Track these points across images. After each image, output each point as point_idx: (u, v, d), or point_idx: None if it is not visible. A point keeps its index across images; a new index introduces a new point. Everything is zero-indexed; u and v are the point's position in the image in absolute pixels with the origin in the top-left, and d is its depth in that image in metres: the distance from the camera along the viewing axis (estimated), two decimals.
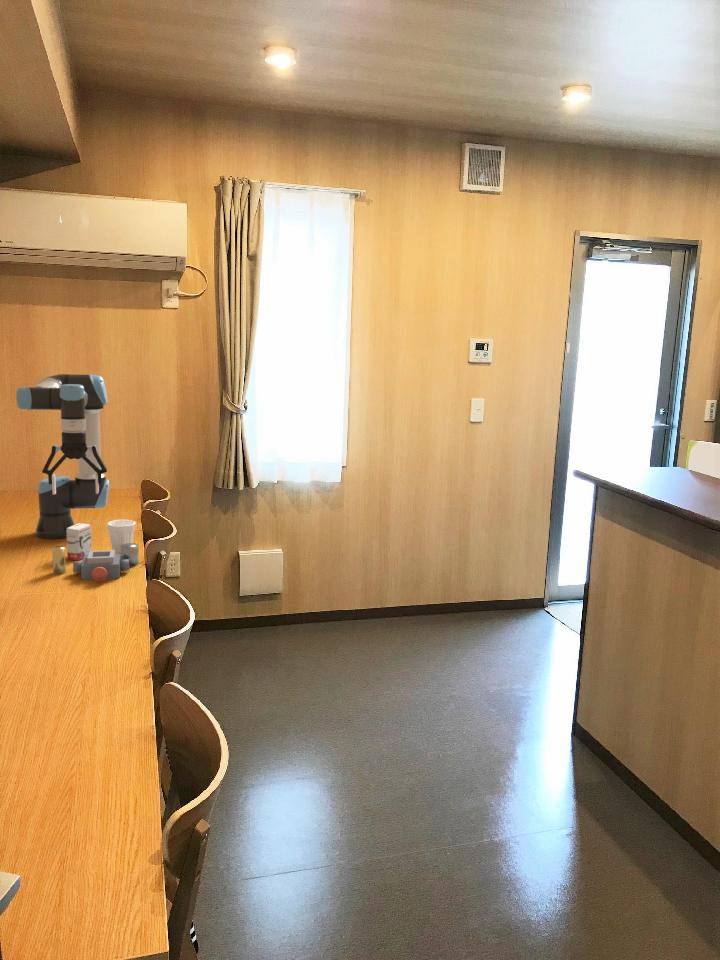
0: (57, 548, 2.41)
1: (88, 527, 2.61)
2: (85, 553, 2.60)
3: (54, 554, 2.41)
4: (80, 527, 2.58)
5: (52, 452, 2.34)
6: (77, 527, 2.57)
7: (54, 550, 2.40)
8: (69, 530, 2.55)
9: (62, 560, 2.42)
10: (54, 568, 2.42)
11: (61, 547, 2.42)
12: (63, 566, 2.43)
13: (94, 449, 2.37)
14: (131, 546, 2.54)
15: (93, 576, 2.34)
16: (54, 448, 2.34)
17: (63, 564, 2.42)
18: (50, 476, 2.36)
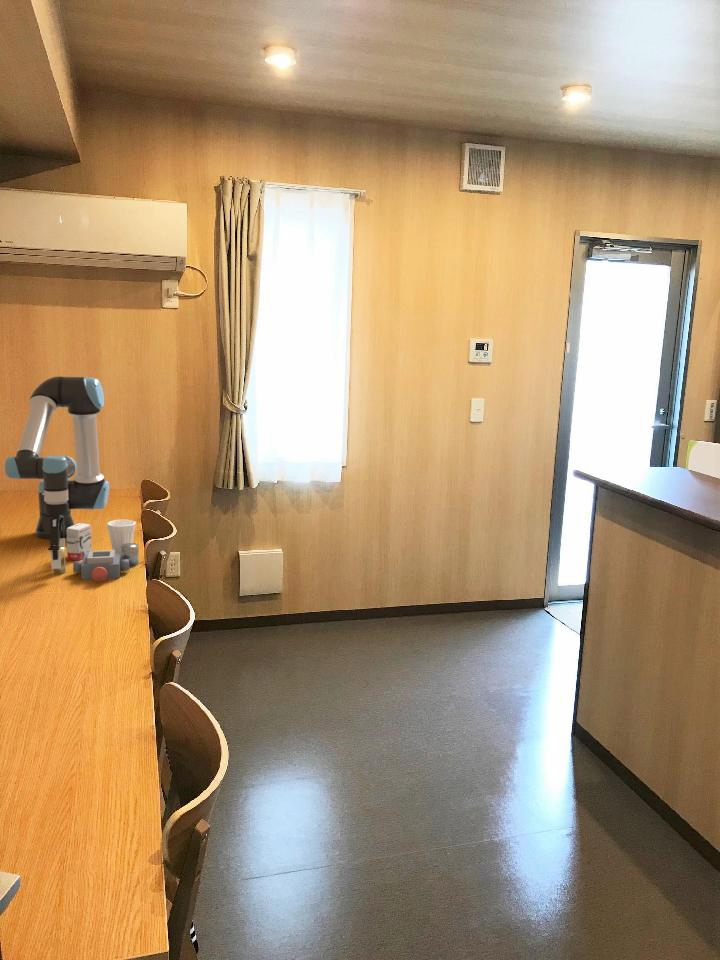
0: None
1: (88, 527, 2.61)
2: (85, 553, 2.60)
3: None
4: (80, 527, 2.58)
5: None
6: (77, 527, 2.57)
7: None
8: (69, 530, 2.55)
9: (62, 560, 2.42)
10: None
11: (61, 547, 2.42)
12: (63, 566, 2.43)
13: None
14: (131, 546, 2.54)
15: (93, 576, 2.34)
16: None
17: (63, 564, 2.42)
18: None
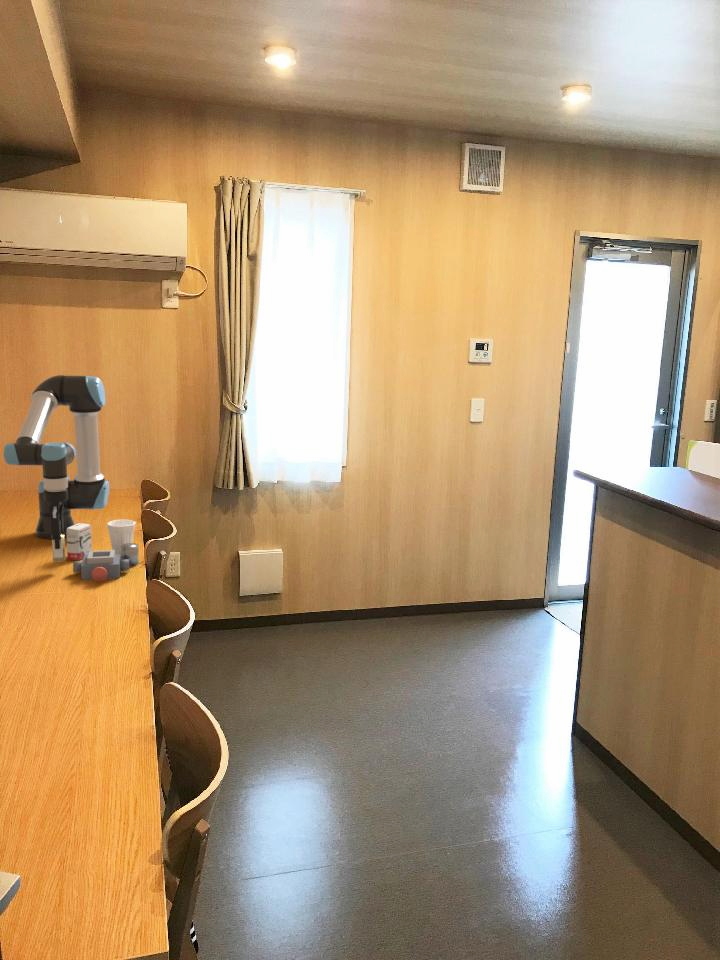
0: None
1: (88, 527, 2.61)
2: (85, 553, 2.60)
3: None
4: (80, 527, 2.58)
5: None
6: (77, 527, 2.57)
7: None
8: (69, 530, 2.55)
9: (62, 548, 2.41)
10: None
11: (61, 535, 2.42)
12: (63, 554, 2.42)
13: None
14: (131, 546, 2.54)
15: (93, 576, 2.34)
16: None
17: (63, 552, 2.42)
18: None
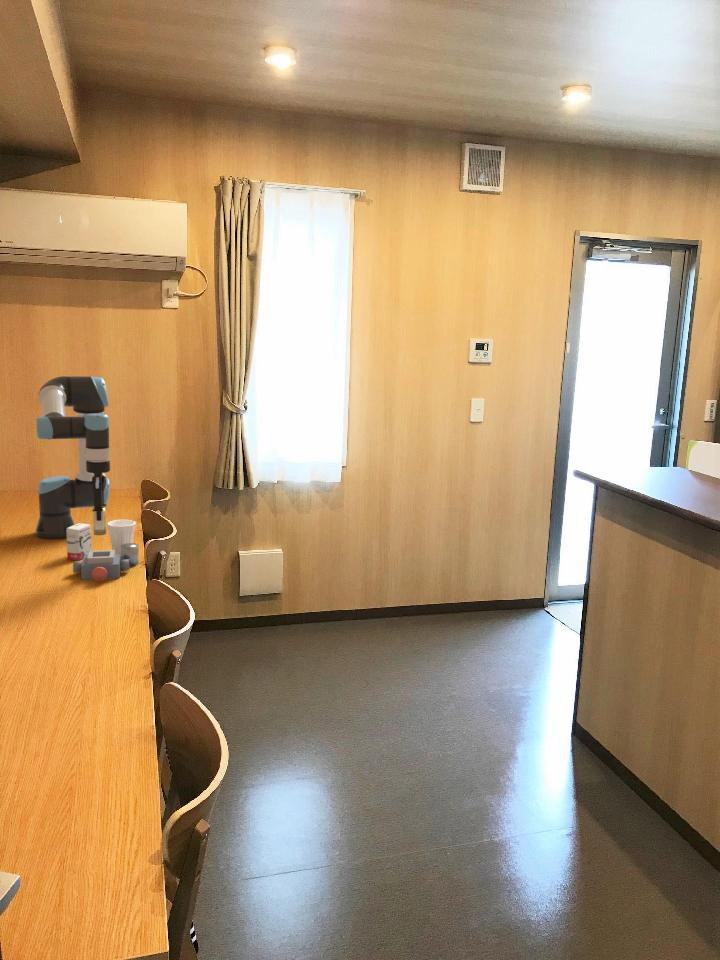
0: None
1: (88, 527, 2.61)
2: (85, 553, 2.60)
3: None
4: (80, 527, 2.58)
5: None
6: (77, 527, 2.57)
7: None
8: (69, 530, 2.55)
9: None
10: None
11: None
12: (104, 527, 2.41)
13: (93, 486, 2.32)
14: (131, 546, 2.54)
15: (93, 576, 2.34)
16: None
17: (104, 525, 2.40)
18: None
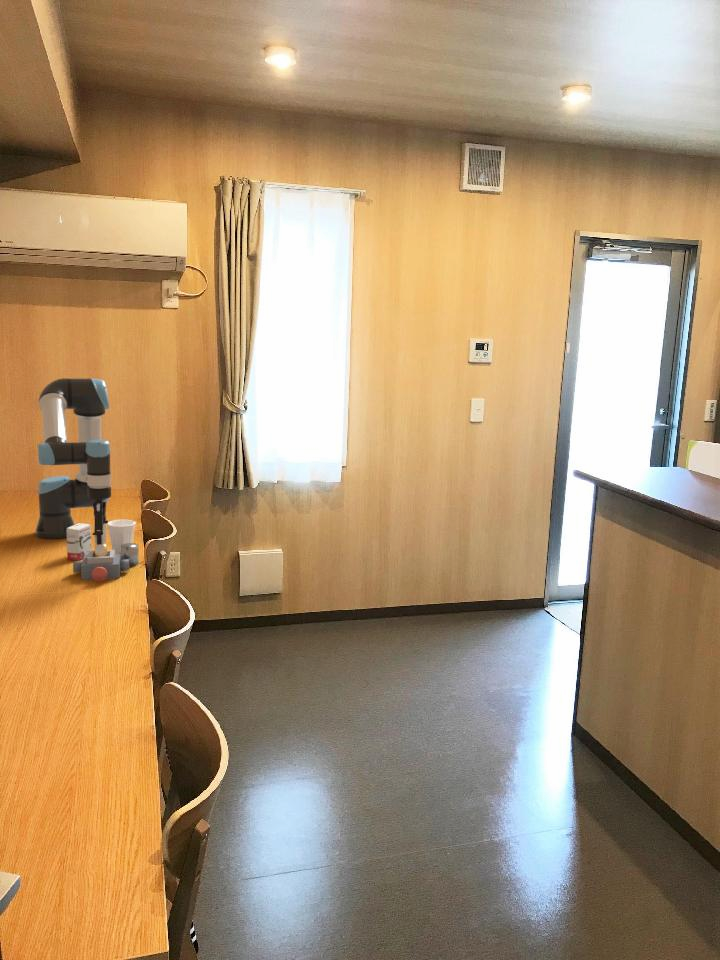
0: None
1: (88, 527, 2.61)
2: (85, 553, 2.60)
3: None
4: (80, 527, 2.58)
5: None
6: (77, 527, 2.57)
7: None
8: (69, 530, 2.55)
9: None
10: None
11: (104, 544, 2.44)
12: None
13: (94, 508, 2.33)
14: (131, 546, 2.54)
15: (93, 576, 2.34)
16: None
17: None
18: None
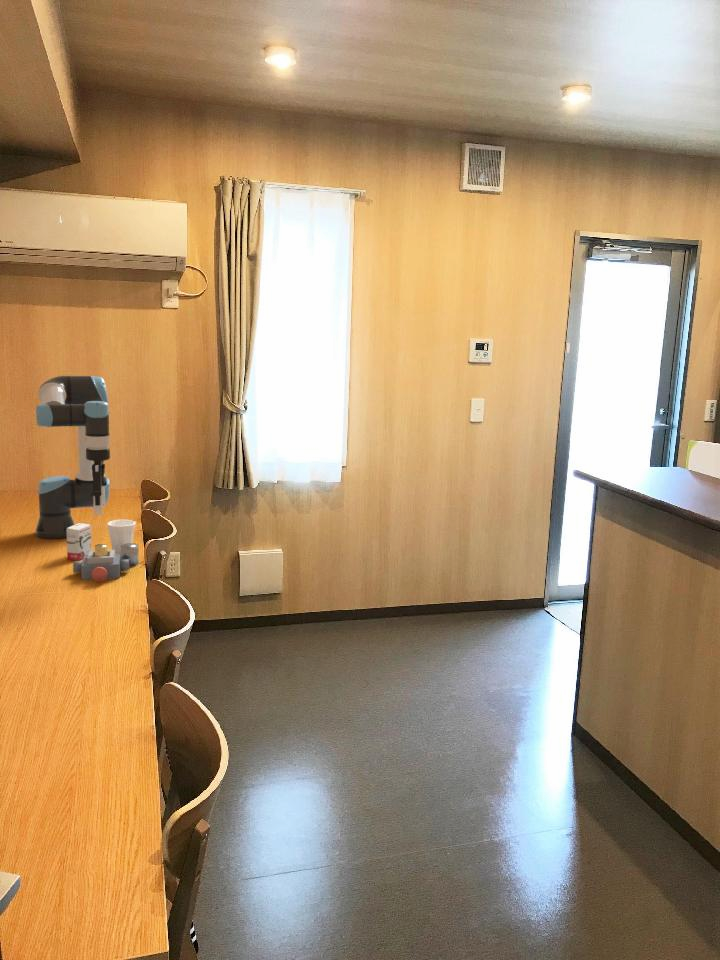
0: (100, 546, 2.42)
1: (88, 527, 2.61)
2: (85, 553, 2.60)
3: (97, 552, 2.41)
4: (80, 527, 2.58)
5: None
6: (77, 527, 2.57)
7: (97, 548, 2.41)
8: (69, 530, 2.55)
9: None
10: None
11: (104, 545, 2.43)
12: None
13: (93, 469, 2.31)
14: (131, 546, 2.54)
15: (93, 576, 2.34)
16: None
17: None
18: None
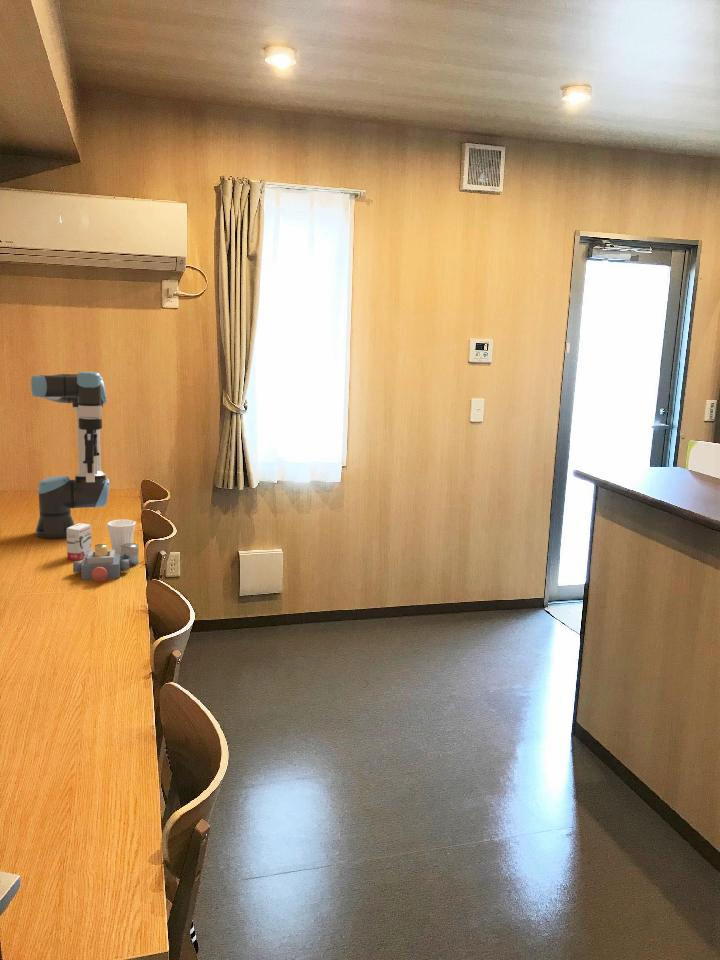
0: (100, 546, 2.42)
1: (88, 527, 2.61)
2: (85, 553, 2.60)
3: (97, 552, 2.41)
4: (80, 527, 2.58)
5: None
6: (77, 527, 2.57)
7: (97, 548, 2.41)
8: (69, 530, 2.55)
9: None
10: None
11: (104, 545, 2.43)
12: None
13: (85, 437, 2.38)
14: (131, 546, 2.54)
15: (93, 576, 2.34)
16: None
17: None
18: None
